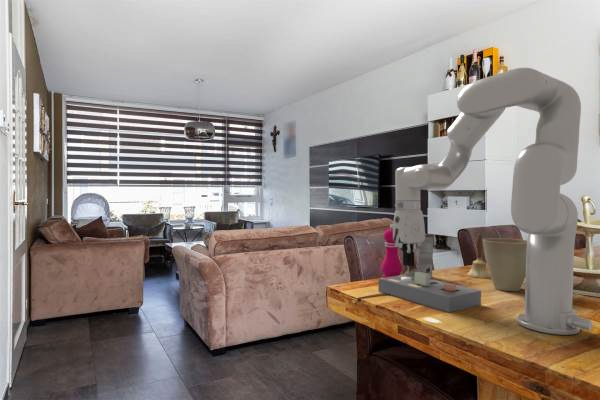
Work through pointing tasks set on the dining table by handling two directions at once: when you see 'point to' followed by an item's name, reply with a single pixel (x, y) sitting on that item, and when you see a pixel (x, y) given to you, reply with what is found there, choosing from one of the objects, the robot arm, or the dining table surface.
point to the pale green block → (422, 278)
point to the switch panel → (430, 293)
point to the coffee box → (422, 258)
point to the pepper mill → (391, 256)
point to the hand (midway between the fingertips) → (408, 265)
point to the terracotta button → (449, 287)
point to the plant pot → (506, 262)
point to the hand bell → (479, 262)
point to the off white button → (406, 278)
